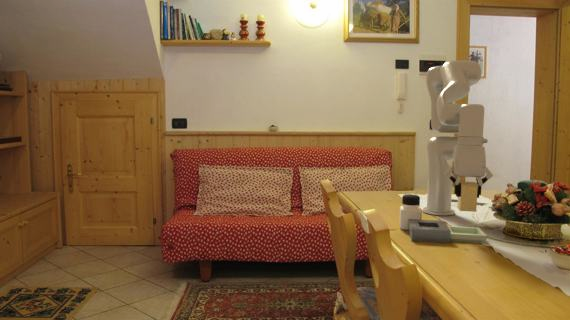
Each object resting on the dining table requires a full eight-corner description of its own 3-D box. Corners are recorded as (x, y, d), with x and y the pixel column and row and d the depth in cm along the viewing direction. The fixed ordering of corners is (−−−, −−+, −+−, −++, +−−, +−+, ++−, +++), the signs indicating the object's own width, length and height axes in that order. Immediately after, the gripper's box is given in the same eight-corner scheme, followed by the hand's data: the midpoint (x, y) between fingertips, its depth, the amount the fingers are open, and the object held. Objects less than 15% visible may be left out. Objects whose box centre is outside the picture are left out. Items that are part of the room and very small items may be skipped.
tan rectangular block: (456, 207, 160) (457, 181, 159) (473, 208, 159) (474, 182, 158) (459, 211, 155) (461, 183, 154) (477, 211, 154) (478, 184, 153)
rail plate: (407, 230, 167) (408, 219, 167) (443, 232, 165) (443, 220, 165) (411, 240, 153) (412, 228, 153) (450, 243, 151) (450, 230, 151)
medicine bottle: (420, 230, 167) (422, 197, 165) (400, 229, 168) (401, 196, 167) (419, 226, 174) (420, 193, 172) (399, 224, 175) (400, 192, 174)
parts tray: (445, 232, 165) (445, 225, 164) (478, 234, 163) (478, 227, 162) (450, 241, 154) (450, 233, 154) (486, 243, 152) (486, 235, 152)
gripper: (494, 142, 157) (491, 196, 159) (441, 140, 160) (438, 193, 162) (501, 143, 150) (497, 200, 151) (444, 142, 153) (442, 197, 154)
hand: (467, 196), depth 157 cm, fingers closed on tan rectangular block, 5 cm apart
